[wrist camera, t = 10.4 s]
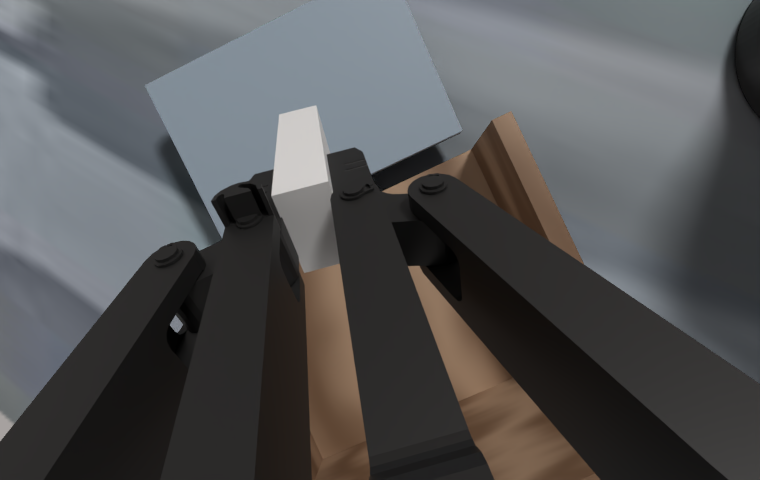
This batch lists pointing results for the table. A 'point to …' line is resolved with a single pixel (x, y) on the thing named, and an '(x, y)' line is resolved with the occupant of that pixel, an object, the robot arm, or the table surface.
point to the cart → (445, 339)
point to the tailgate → (307, 92)
